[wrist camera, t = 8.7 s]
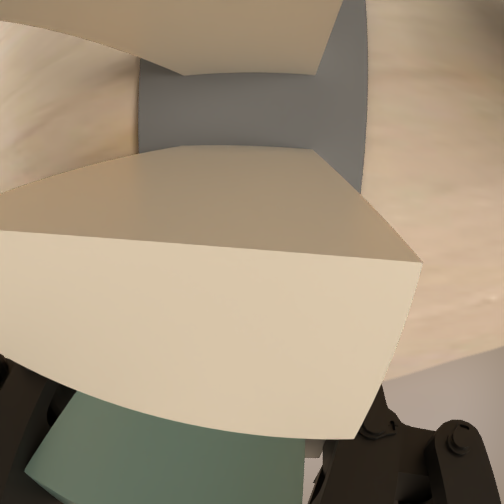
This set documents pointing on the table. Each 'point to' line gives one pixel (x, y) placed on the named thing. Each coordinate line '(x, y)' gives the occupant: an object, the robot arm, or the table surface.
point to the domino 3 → (161, 460)
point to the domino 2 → (207, 288)
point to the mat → (269, 103)
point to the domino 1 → (194, 30)
